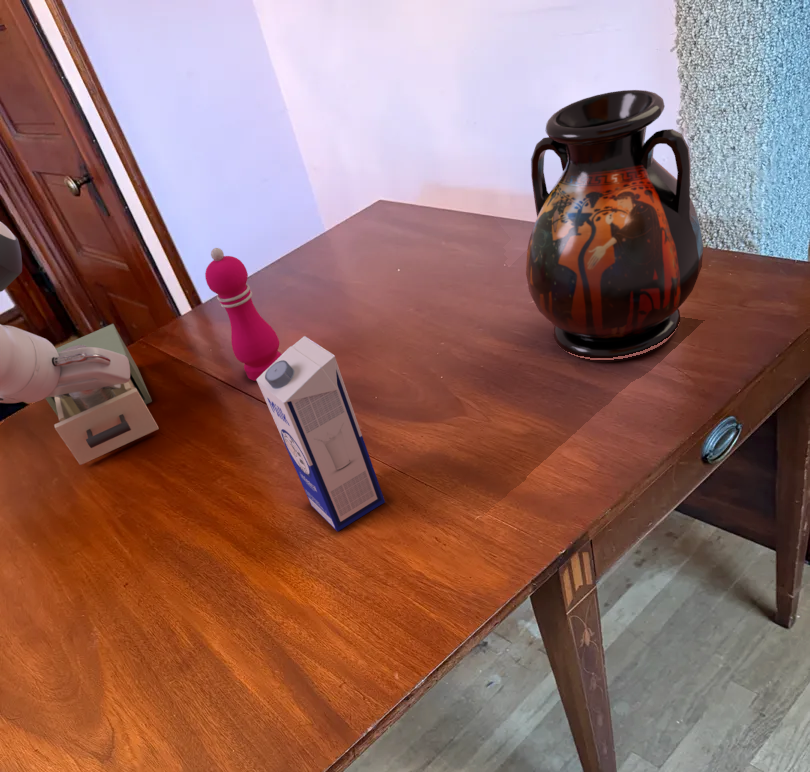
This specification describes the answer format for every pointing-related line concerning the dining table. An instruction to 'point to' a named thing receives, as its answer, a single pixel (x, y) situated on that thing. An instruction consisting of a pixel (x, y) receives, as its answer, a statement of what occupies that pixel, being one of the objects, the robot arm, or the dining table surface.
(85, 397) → the can
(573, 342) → the amphora vase
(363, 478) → the milk carton
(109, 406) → the drawer
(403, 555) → the dining table surface
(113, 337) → the cabinet
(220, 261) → the pepper mill
